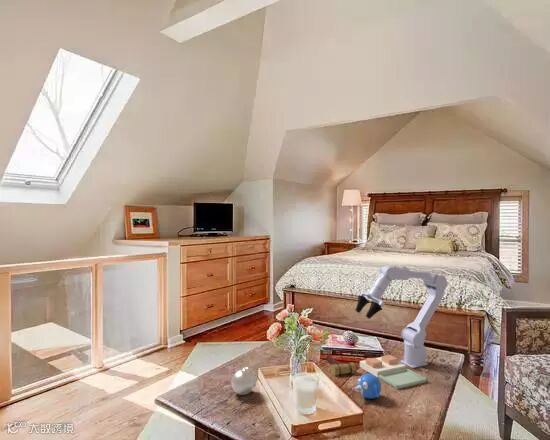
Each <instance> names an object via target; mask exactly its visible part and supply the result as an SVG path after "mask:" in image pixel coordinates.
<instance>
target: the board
mask: <svg viewBox="0 0 550 440" xmlns="http://www.w3.org/2000/svg"><path fill="white" fill-rule="evenodd" d="M375 358H376V359H378V360H380V361H381V356H380V357H375ZM359 367H360V368H361V369H362V370H365V371H366V372H368V374H373V375H375V376H376V377H377V378H378V374H381V373H386V372H390V371H395V370H400V369H404V368H407V365H406V364H404V363H402V362H400V361H398V363H396V364H391V365H388V364H387V363H385V362H383V361H382V366H381V367H376V368H372V367H370V366H369V365H367V364H366V359H365V360H363V359H362V360H359Z"/></svg>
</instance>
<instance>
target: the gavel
mask: <svg viewBox="0 0 550 440" xmlns="http://www.w3.org/2000/svg"><path fill="white" fill-rule="evenodd" d="M325 357H326V358H325ZM324 358H325V360H326V361H327V362H328V363H330V364H331V365H330V371H331V375H333V376H334V377H336V376H339V375H340V376H341V375H348V374H351V375H353V374H356V373H357V368H356V365H355V363H354V362H348V363H342V364H341V362H339V361H338V360H336V359H335V358H334V357H333V356H331V355H327V354H326V356H325V355H324Z"/></svg>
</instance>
